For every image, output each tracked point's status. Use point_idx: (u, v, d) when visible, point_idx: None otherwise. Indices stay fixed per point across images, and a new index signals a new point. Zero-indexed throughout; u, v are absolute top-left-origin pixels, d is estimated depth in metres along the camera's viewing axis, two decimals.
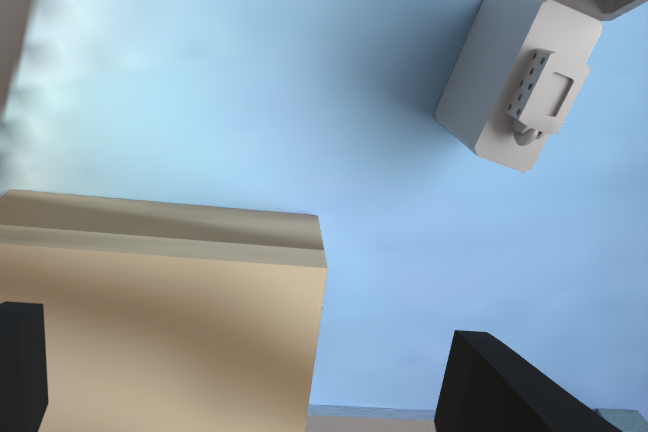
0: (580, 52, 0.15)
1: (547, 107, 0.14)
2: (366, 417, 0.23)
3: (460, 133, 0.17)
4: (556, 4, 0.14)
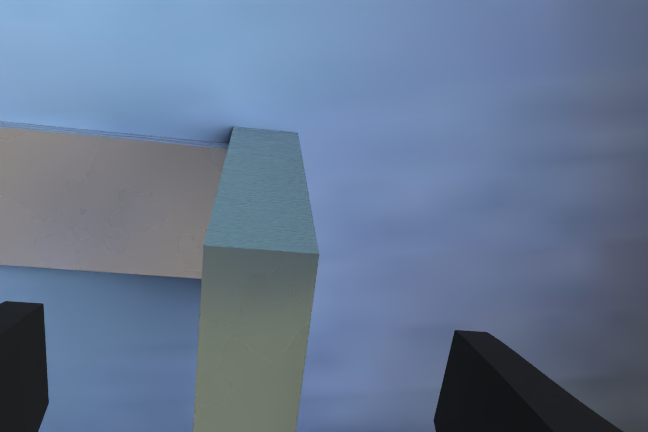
0: None
1: None
2: None
3: None
4: None
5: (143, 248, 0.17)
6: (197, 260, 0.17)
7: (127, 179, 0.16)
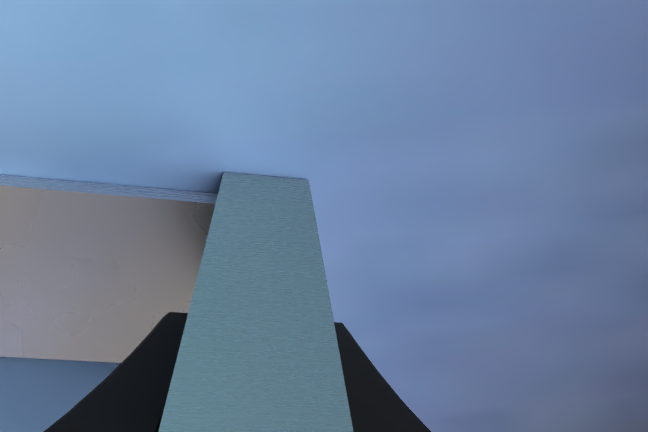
0: None
1: None
2: None
3: None
4: None
5: (106, 329, 0.13)
6: None
7: (82, 243, 0.12)
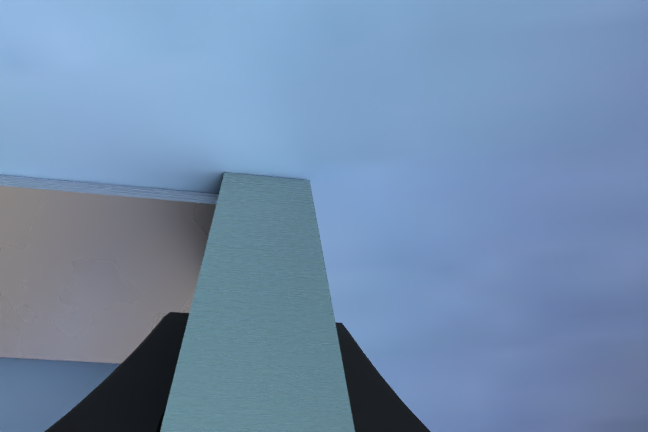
0: None
1: None
2: None
3: None
4: None
5: (106, 330, 0.13)
6: None
7: (82, 243, 0.12)
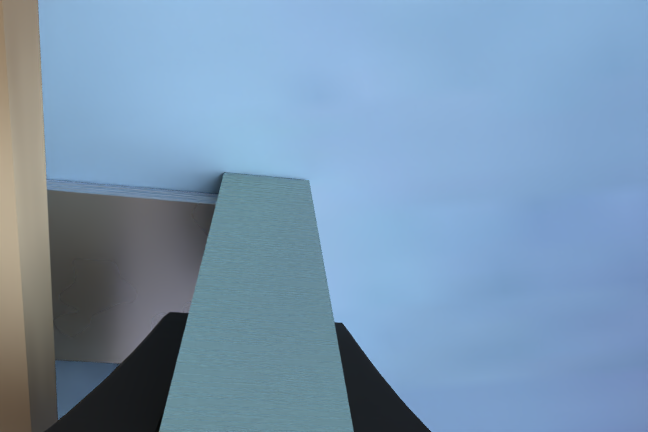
0: None
1: None
2: None
3: None
4: None
5: (106, 330, 0.13)
6: None
7: (82, 244, 0.12)
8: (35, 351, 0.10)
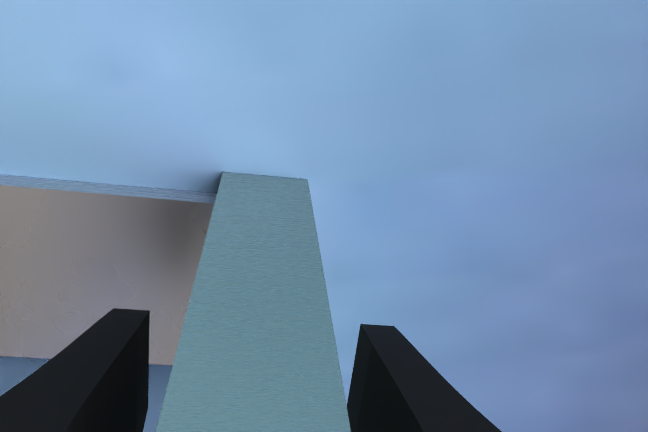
0: None
1: None
2: None
3: None
4: None
5: None
6: (176, 343, 0.13)
7: (81, 243, 0.12)
8: None
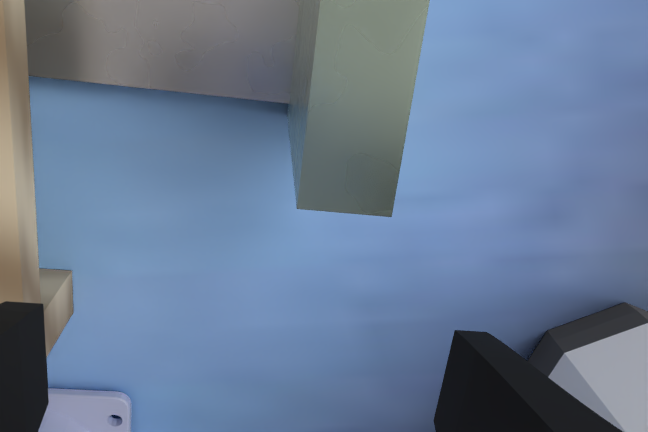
0: None
1: None
2: None
3: None
4: None
5: (213, 65, 0.17)
6: (266, 80, 0.17)
7: None
8: None
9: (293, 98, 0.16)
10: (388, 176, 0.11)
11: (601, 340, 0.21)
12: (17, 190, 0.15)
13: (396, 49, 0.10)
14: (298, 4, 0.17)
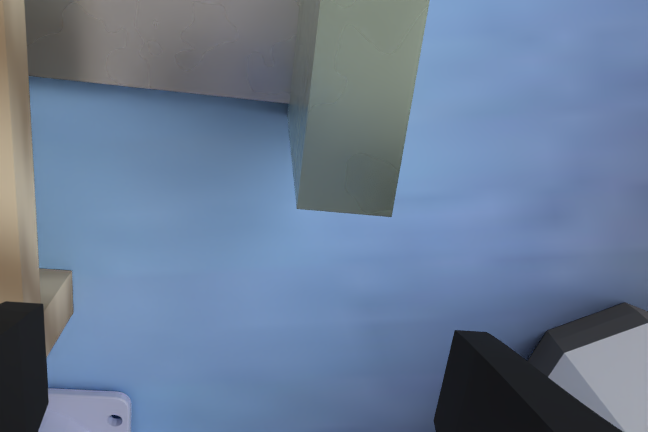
0: None
1: None
2: None
3: None
4: None
5: (213, 65, 0.17)
6: (266, 80, 0.17)
7: None
8: None
9: (293, 98, 0.16)
10: (388, 176, 0.11)
11: (601, 340, 0.21)
12: (17, 190, 0.15)
13: (396, 49, 0.10)
14: (298, 4, 0.17)
